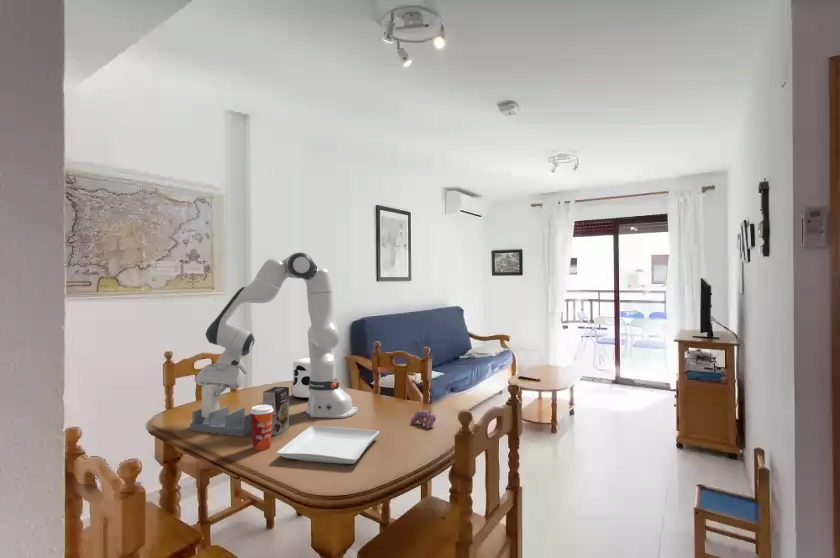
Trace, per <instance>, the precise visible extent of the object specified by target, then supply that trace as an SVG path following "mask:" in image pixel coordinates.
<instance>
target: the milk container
mask: <svg viewBox="0 0 840 558" xmlns="http://www.w3.org/2000/svg"><path fill="white" fill-rule="evenodd" d="M292 368H293V369H292V373H293V374H292V376H293V377H292V382H291V385H290V386H291V387H290V392H291V395H292V396H293V397H294V398H296V399H302V400H306V399H307V400H309V393H310V392H309V380H310V357H304V358H298V359H294V361H293V365H292Z"/></svg>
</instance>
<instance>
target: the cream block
mask: <svg viewBox="0 0 840 558" xmlns="http://www.w3.org/2000/svg"><path fill="white" fill-rule="evenodd" d="M219 388H221V387H220V385H217V384H208V385H205V386H202V385H201V392H202V394H201V408H202V416H201V417H205V418H209V413H211V412H213V411H216V410H218V409H220V396H219V397H217V396H214V393H215V391H217V390H218V389H219Z"/></svg>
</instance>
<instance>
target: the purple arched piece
mask: <svg viewBox="0 0 840 558" xmlns="http://www.w3.org/2000/svg"><path fill="white" fill-rule="evenodd" d="M436 419H437V416H436V415H435V414H434V413H432V412H431V411H429V410H426V409H423V410H421V409H420V410H419V409H418V410H417V411H416V412H415V413H414V415H413V416H412V418H411V419H410V425H412V424H413V423H415V424H416V423H417V422H418V424H419V423H420V424H419V425H423V423H424V425H425V429H426V428H427V429H426V430H429V429H428V428H430V429H431V428H432V427H433V425H434V423H435V422H436ZM413 425H414V424H413Z"/></svg>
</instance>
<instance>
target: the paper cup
mask: <svg viewBox="0 0 840 558" xmlns="http://www.w3.org/2000/svg"><path fill="white" fill-rule="evenodd" d="M273 411H274V409H273V408H272V406H271V405H263V404H258V405H254V406H252V407H251V410H250V411H249V413H251V419H252V432H251V436H252V437H251V438H252V449H253V450H254V451H257V450H261V451H265V450H269V449H270V448H271V441H272V435H271V430H272V414H273Z"/></svg>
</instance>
